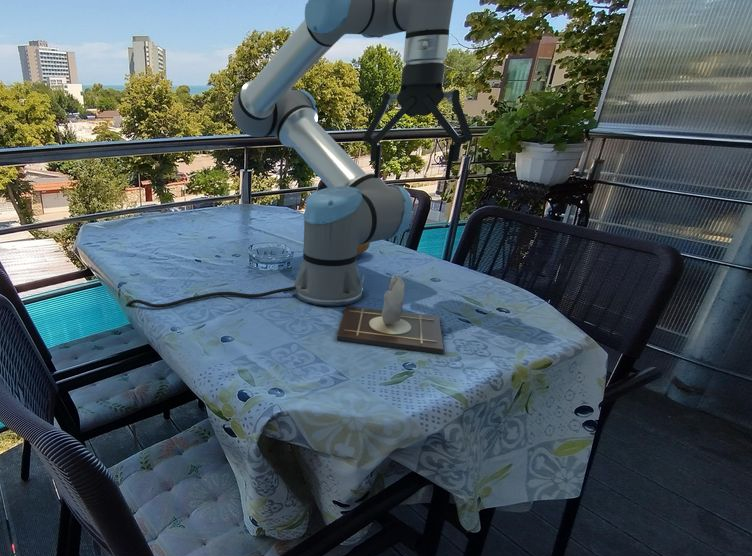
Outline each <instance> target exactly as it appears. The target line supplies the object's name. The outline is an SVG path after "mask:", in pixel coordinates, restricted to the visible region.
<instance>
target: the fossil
mask: <svg viewBox="0 0 752 556" xmlns="http://www.w3.org/2000/svg"><path fill="white" fill-rule="evenodd" d="M405 287H406V284H405V282H404V281H403V279H402V277H401V276H398V275H394V276H392V277H390V282H389V286H388V289H387V290H386V291H385V292H384V293H383V294H384V295H383V306H382V310H383V311H382V318H383V322H384V323H385V324H387V325H390V324H393V323H395V322H398V321H400V316H401V313H402V312H403V303H404V298H405Z"/></svg>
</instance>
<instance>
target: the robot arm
mask: <svg viewBox="0 0 752 556" xmlns="http://www.w3.org/2000/svg"><path fill="white" fill-rule="evenodd" d="M454 1H455V0H307V2H306V3H305V7H304V20H302V22H301V23H300V24H299V25H298V26H297V27H296V29H294V31H293V33H292V34H291V35H290V36H289V37H288V38H287V39H286V41H285V42H284V43H283V45H281V47H280V48H279V49H278V50H277V52H275V54H274V55H273V56H272V57H271V58H270V60H269V61H268V62H267V63H266V64H265V66H264V67H263V68H262V69H261V70H260V71H259V73H258V74H257V75H256V76H255V77H254V79H253V80H249V81H247V82H245V83H244V84H243V85H242V86H241V88H240V89H239V90H238V92H237V93H236V95H235V97H234V100H233V103H232V117H233V120H234V123H235V124H236V126H237V128H239V130H240V131H241V132H242V133H244V134H246V135H247V136H250V137H253V138H265V137H275V138H277V140H278V141H279V142H280V143H281V145H283V146H284V147H286V148H293V149H294V150H295V152H296V153H297V154H298V155H299V156H300V157H301V159H302V160H303V161H304V162H305V163H306V164H307V165H308V167H310V169H311V170H312V171H313V172H314V173H315V174H316V176H317V177H318V178H319V179H320V180H321V182H322V183H323V184H324V185H325V186H326V187H325V188H322V189H319V190H316V191H314V192H312V193H310V194H309V195H308V197H307V198H306V200H305V205H304V212H303V219H304V220H303V223H304V224H303V252H302V253H303V255H302V262H301V265H300V268H299V270H298V272H297V276H296V279H295V281H294V286H288V287H283V288H278V289H273V290H269V291H265V292H261V293H244V292H236V291H217V292H209V293H205V294H199V295H193V296H190V297H186V298H182V299H178V300H175V301H171V302H165V303H152V302H148V301H145V300H142V299H132V300H130V301H128V302H127V303H126V304H125V307H130V306H132V305H133V304H140V305H143V306H146V307H150V308H153V309H154V308H155V309H158V308H159V309H160V308H161V309H162V308H168V307H173V306H176V305H180V304H183V303H186V302H187V303H188V302H190V301H191V302H193V301H197V300H200V299H205V298H210V297H217V296H234V297H235V296H237V297H243V298H263V297H267V296H271V295H275V294H279V293H285V292H290V291H291V292H292V291H293V293H294V296H295V298H297V299H299V300H300V301H302V302H305V303H307V304H310V305H315V306H321V307H322V306H323V307H343V306H350V305H352V304H354V303H357V302H358V301H360V300H361V299H362V298H363V283H364V281H365V275H363V276H362V279H361V275H360V272H359V269H358V264H357V259H358V258H357V247H358V245H361V244H365V243H370V244H371V243H373V242H379V241H383V240H390V239H392V238H394V237H397V236H400V235H402V234H403V233H405V232H406V230H407V229H408V228H409V227H410V225H411V222H412V221H413V217H414V211H413V209H414V202H413V199H412V196H411V194H410V193H409V191H408V190H407V189H406V188H404V187H403V186H400V185H396V184H395V185H388V184H387V183H386V182H385V181H384V180H383V179H382V178H381V177H380V175H381V174H380V173H381V162H382V149H383V144H379V143H380V142H381V140H382V139H383V138H384V137H385V136H386V135H387V134H388V133H389V132H390V131H391V130H392V129H393V127H394V126H396V124H397V123H398V122H399V121H400V120H401V119H402V118H403V117H404V116H405V115H406V116H407V117H415V116H421V117H427V116H429V115H431V114H432V115H433V117H434V118H435V120H437V122H438V123H439V125H440V126H441V128H442V129H443V130H444V131H445V133H446V134H447V135H448V137H449V138H450V139H451V141H452V142H453V143H449V148H448V153H447V154H448V155H447V161H446V167H445V168H446V169H445V176H444V180H447V181H449V180H450V178H451V172H452V163H453V162H454V163H457V162H458V161H459V159H460V152H461V147H462V145H463V144H464V143H468V142H470V141H472V140H473V134H472V132H471V129H470V126H469V123H468V121H467V118H466V115H465V113H464V110H463V107H462V105H461V102H460V92H461V91H460V90H459V89H457V88H456V89H454V90H449V91H444V89H443V86H444V77H445V69H446V65H445V63H444V62H443V61H445V60H446V59H447V56H448V48H449V47H448V46H449V40H450V39H449V38H450V27H451V26H450V25H451V19H452V13H453V6H454ZM399 33H405V37H404V46H403V47H404V49H403V59H402V60H403V63H405V64H404V66H403V67H402V70H401V79H400V88H399V91H398V93H390V92H384V93H383V94H382V97H381V98H382V99H381V104H380V106H379V108H378V109H377V111H376V114H375V115H374V116H373V118H372V120H371V123H370V124H369V126H368V128H367V129H366V131H365V132H364V134H363V137H362V142H364V143H367V144H369V145H370V157H369V159H370V161H371V162H375V163H374V173H373V172H370V173H369V172H368V173H366V172H365V170H363V169H362V168H361V166H360V165H358V164H357V163H356V161H355V160H354V159H353V158H352V157H351V156H350V155H349V154H348V153H347V152H346V151H345V150H344V149H343V148H342V146H340V145H339V143H338V142H337V141H336V140H335V139H334V138H333V137H332V136H331V135H330V134H329V133H328V132H327V131H326V130H325V129H324V128H323V127H322V126H321V125H320V123H318V119H319V118H318V108H317V107H316V105H317V103H316V101H315V98H314V96H312V94H310V93H309V92H308V91H306V90H304V89H298V88H293V87H294V86H295V85H296V84H297V83H298V82H299V81H300V80H301V79H302V78H303V77H304V76H305V74H307V72H309V70H310V69H312V67H314V65H315V64H316V63H317V62H319V61H320V59H321V58H322V57H323V56H324V55H325V54H326V53H327V52H328V51H329V50H330V49H332V47H334V45H335V44H336V43H337V42H338V41H339V40H340V39H342V37H344V36H345V35H361V36H362V37H364V38H365V39H371V38H373V39H374V38H378V39H379V38H383V37H385V36H391V35H395V34H399ZM444 99H446V100H447V102H448V103H450V104H452V108H453V110H454V113H455V116H456V118H457V121H458V123H459V126H460V128H461V131H462V134H463V135H461V136H459V134H458V133H457V131H456V130H455V129H454V128H453V126H452V125H451V123H450V122H449V121H448V119H447V118H446V117H445V116H444V114H443V113H442V112H441V110H440V109H439V108H438V105H440V103H441V102H442V101H443V100H444ZM394 101H397V103H398V104H399V107H400V109H399V110H398V111H397V112H396V113H395V114H394V116H392V118H390V120H389V121H388V122H387V123H386V124H385V125H384V127H382V129H380V131H379V132H378V133H377V134H376V135H375V136H374V137H373V134H374V133H375V131H376V129H377V127H378V125H379V124H380V122H381V120H382V118H384V115H385V113H386V111H387V110H388V108H389V106H391V105H393V103H394ZM131 429H132V435H133V443H134V450H135V451H138V450H139V445H138V437H137V429H136V425H133V424H131Z"/></svg>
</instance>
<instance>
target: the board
mask: <svg viewBox="0 0 752 556" xmlns="http://www.w3.org/2000/svg"><path fill="white" fill-rule="evenodd" d="M382 311H383V309H377V308H369V307H361V306H360V307H359V306H350V305H345V307H344V311H343V315H342V317H341V322H340V325H339V328H338V332H337V335H336V340H337V341H341V342H347V343H355V344H363V345H371V346H379V347H386V348H394V349H401V350H409V351H415V352H416V351H417V352H422V353H424V352H425V353H431V354H440V355H443V354H444V343H443V342H444V341H443V335H442V328H441V321H440V316H439V315H434V314H433V315H432V314H425V313H416V312H407V311H402V313H401V316H400V321H398V322H395V323H393V324H390V325H387V324H385V323H384V322H383V318H382Z"/></svg>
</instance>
